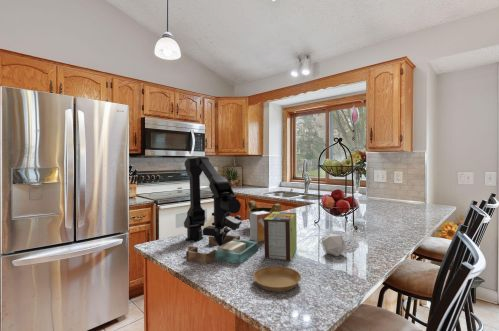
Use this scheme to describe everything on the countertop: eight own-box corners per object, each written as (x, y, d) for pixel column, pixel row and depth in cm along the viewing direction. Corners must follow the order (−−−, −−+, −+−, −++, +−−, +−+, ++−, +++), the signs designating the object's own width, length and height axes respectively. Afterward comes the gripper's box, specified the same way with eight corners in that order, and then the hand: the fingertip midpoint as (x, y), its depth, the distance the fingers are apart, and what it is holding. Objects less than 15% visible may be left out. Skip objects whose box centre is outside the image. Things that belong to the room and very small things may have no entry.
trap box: (180, 259, 103) (180, 250, 102) (215, 240, 126) (215, 233, 126) (234, 269, 92) (234, 259, 92) (262, 246, 116) (262, 239, 116)
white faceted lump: (327, 260, 101) (343, 241, 99) (314, 243, 108) (329, 226, 106) (338, 262, 106) (354, 245, 104) (325, 246, 113) (339, 230, 111)
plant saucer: (282, 301, 71) (282, 292, 71) (243, 284, 81) (243, 276, 81) (310, 282, 82) (310, 274, 82) (272, 270, 92) (272, 262, 92)
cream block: (217, 256, 106) (217, 247, 106) (232, 249, 114) (232, 240, 114) (231, 260, 102) (231, 250, 102) (245, 252, 110) (245, 243, 110)
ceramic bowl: (288, 229, 145) (288, 202, 145) (268, 235, 133) (267, 206, 133) (259, 223, 161) (259, 198, 161) (238, 228, 149) (238, 201, 149)
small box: (257, 242, 122) (257, 214, 122) (249, 239, 128) (249, 212, 127) (271, 239, 127) (270, 212, 127) (263, 236, 132) (263, 210, 132)
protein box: (296, 248, 114) (296, 212, 114) (290, 261, 99) (290, 220, 99) (273, 246, 117) (272, 211, 117) (263, 258, 103) (263, 218, 102)
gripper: (226, 215, 98) (227, 257, 98) (247, 207, 114) (248, 243, 115) (201, 213, 102) (202, 253, 102) (225, 206, 119) (226, 240, 119)
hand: (221, 247), depth 110 cm, fingers closed
